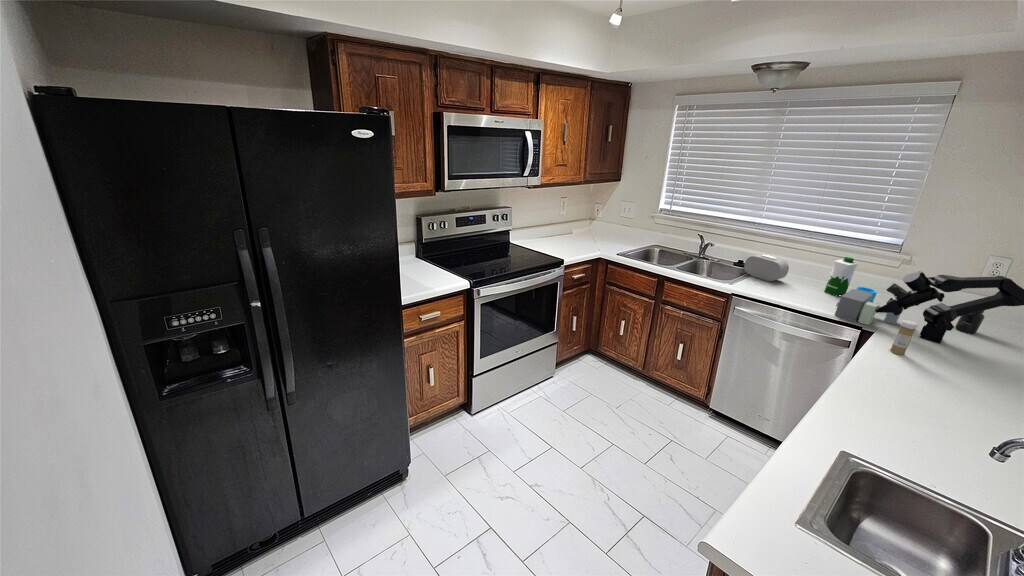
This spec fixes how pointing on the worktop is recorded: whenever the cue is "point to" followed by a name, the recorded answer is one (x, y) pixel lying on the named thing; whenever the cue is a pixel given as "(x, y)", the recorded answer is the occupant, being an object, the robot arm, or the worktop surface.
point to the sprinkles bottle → (903, 337)
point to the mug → (868, 292)
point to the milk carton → (840, 276)
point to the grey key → (891, 317)
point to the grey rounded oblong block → (766, 267)
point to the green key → (867, 312)
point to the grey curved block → (852, 304)
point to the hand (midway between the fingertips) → (876, 311)
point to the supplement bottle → (970, 322)
